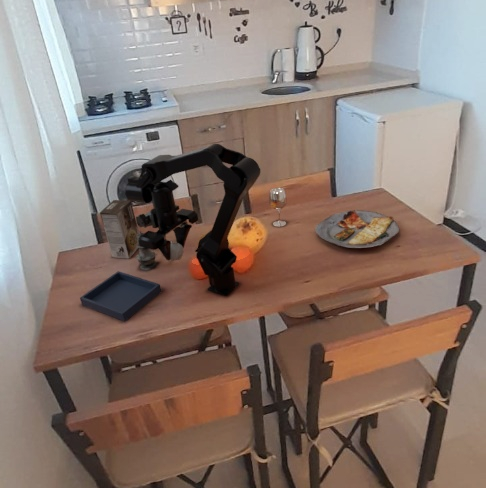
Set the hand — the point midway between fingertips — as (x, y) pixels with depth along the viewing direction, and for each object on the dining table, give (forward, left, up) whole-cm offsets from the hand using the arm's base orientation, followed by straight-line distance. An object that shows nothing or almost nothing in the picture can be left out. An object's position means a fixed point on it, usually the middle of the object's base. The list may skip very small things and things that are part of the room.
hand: (174, 255), depth 131 cm
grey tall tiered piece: (+13, -1, -8) cm, 15 cm away
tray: (+8, +15, -8) cm, 19 cm away
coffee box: (+26, -5, -8) cm, 28 cm away
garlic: (0, 0, -1) cm, 1 cm away
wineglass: (-11, -40, -8) cm, 42 cm away
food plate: (-37, -43, -8) cm, 57 cm away
